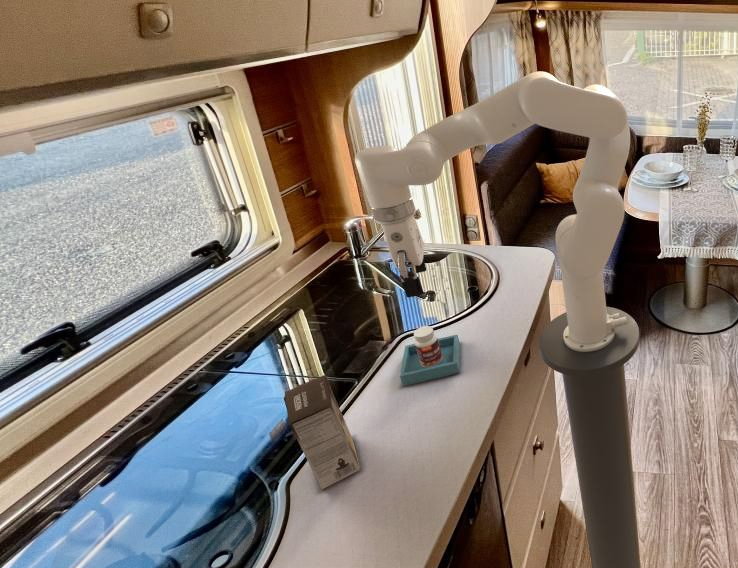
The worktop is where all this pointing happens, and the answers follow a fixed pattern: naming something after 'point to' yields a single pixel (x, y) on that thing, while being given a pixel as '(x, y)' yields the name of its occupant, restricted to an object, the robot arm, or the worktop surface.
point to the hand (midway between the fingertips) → (417, 283)
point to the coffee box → (321, 431)
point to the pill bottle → (427, 347)
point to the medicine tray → (448, 366)
